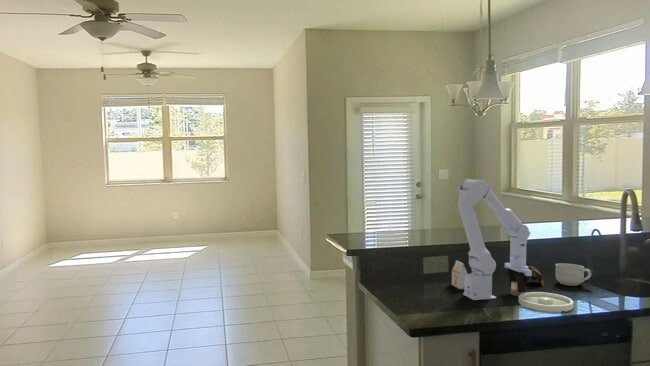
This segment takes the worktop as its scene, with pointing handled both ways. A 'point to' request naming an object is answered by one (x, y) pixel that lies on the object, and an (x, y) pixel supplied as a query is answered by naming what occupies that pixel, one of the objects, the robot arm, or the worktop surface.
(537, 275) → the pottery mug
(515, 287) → the maple bead
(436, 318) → the worktop surface
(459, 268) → the white rectangular block
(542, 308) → the groove tray
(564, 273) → the teacup
